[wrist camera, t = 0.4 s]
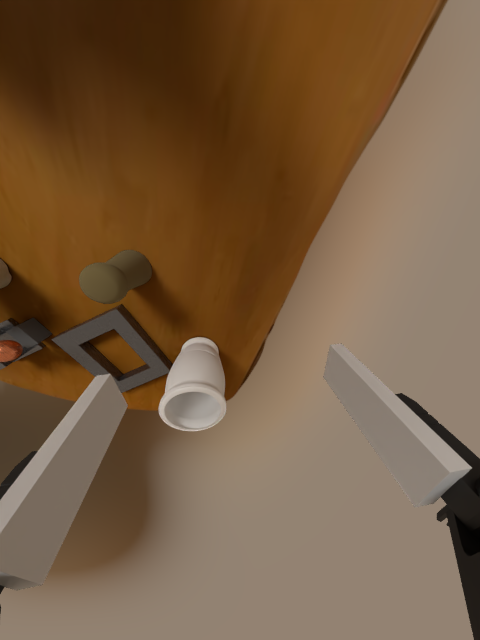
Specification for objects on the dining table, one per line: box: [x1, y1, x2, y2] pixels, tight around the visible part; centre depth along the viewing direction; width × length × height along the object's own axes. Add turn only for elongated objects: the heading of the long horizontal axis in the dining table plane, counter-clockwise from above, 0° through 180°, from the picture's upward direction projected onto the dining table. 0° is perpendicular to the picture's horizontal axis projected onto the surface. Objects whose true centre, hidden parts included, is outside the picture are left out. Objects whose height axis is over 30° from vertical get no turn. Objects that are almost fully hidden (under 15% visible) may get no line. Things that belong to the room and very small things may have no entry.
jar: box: [159, 337, 226, 431], centre depth 35 cm, size 11×10×15 cm
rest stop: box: [6, 318, 52, 349], centre depth 33 cm, size 4×2×3 cm, turn 23°
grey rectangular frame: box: [51, 304, 173, 393], centre depth 38 cm, size 17×14×2 cm
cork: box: [79, 250, 152, 304], centre depth 27 cm, size 6×6×11 cm
